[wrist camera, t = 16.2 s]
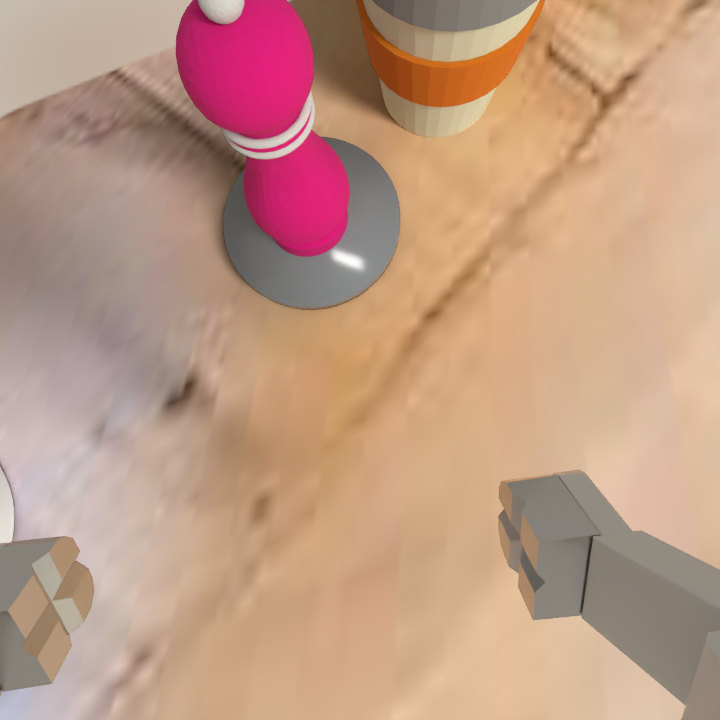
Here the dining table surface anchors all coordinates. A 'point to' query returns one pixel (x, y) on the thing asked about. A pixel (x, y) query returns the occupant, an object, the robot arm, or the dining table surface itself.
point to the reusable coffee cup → (443, 56)
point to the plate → (333, 268)
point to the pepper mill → (267, 115)
